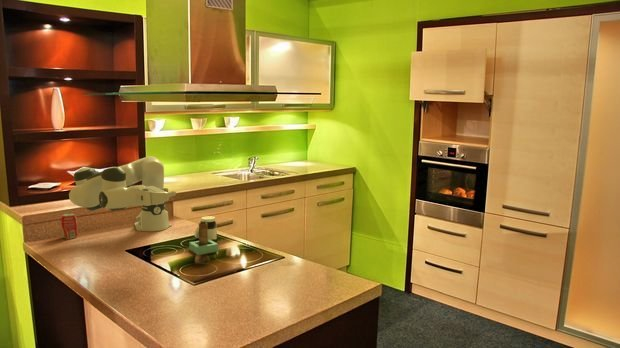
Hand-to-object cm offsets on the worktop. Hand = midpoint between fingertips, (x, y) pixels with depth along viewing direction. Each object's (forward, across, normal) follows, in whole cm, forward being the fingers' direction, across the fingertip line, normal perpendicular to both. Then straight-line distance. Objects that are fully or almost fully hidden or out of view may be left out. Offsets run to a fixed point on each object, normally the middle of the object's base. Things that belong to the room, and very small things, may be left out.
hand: (171, 191), depth 220 cm
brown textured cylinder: (+13, +3, -29) cm, 32 cm away
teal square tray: (+13, +3, -29) cm, 32 cm away
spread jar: (+21, -13, -30) cm, 39 cm away
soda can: (-33, -55, -29) cm, 71 cm away
